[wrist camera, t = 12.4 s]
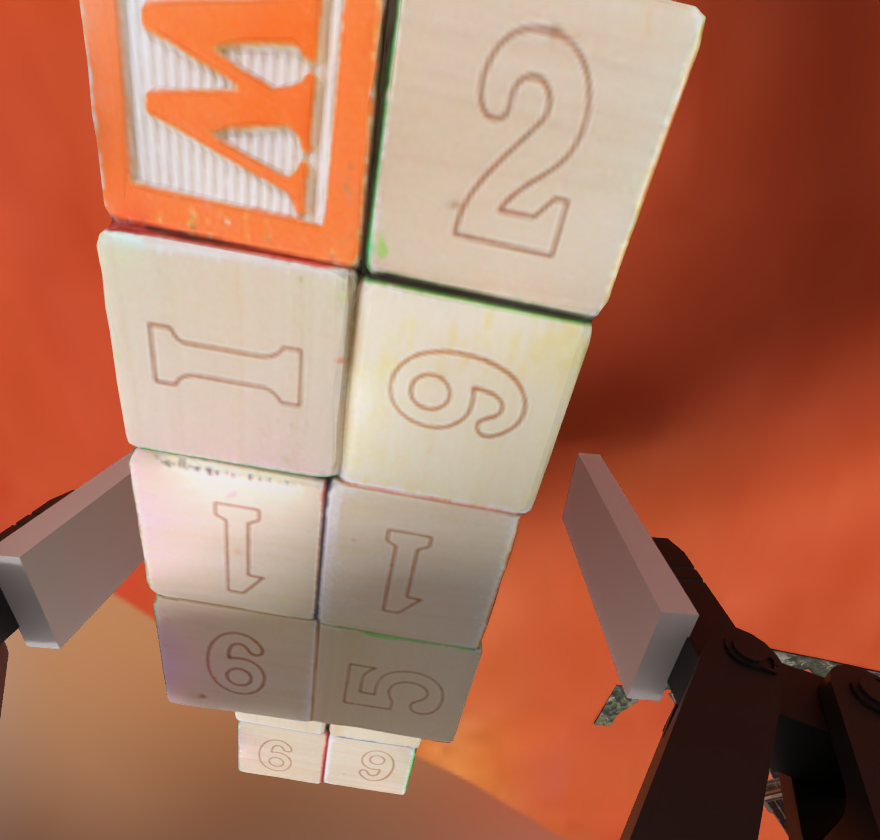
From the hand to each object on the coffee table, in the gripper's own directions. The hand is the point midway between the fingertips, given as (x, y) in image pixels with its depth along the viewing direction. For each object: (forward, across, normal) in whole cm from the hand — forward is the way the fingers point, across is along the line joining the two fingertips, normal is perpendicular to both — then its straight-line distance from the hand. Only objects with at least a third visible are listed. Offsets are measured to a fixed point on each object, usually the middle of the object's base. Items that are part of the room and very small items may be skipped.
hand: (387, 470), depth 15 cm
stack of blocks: (+5, 0, 0) cm, 5 cm away
